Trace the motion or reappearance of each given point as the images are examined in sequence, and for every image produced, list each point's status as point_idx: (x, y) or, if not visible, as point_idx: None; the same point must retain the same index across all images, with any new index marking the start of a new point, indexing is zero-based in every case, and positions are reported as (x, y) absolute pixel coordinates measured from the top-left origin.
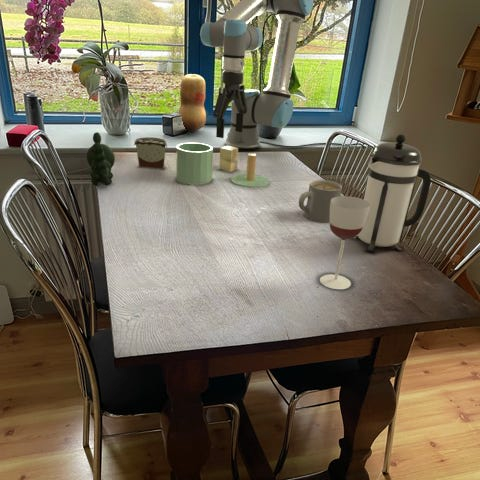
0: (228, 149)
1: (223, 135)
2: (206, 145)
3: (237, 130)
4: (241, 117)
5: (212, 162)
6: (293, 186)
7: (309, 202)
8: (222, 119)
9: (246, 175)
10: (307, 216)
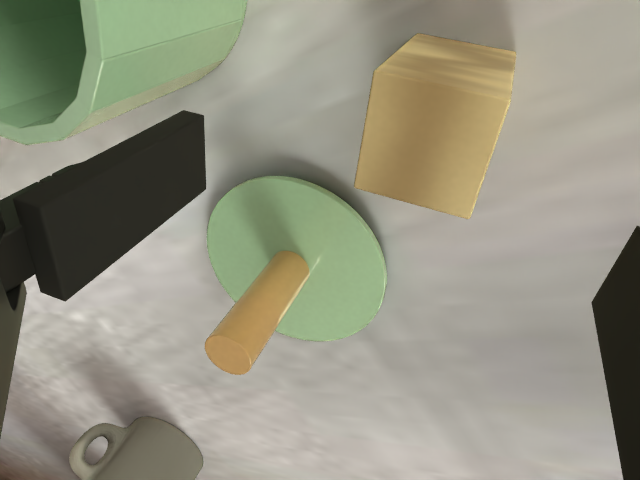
0: (363, 158)
1: (189, 198)
2: (86, 50)
3: (621, 260)
4: (627, 448)
5: (131, 109)
6: (359, 411)
7: (106, 453)
8: (42, 277)
9: (269, 262)
10: (135, 420)
